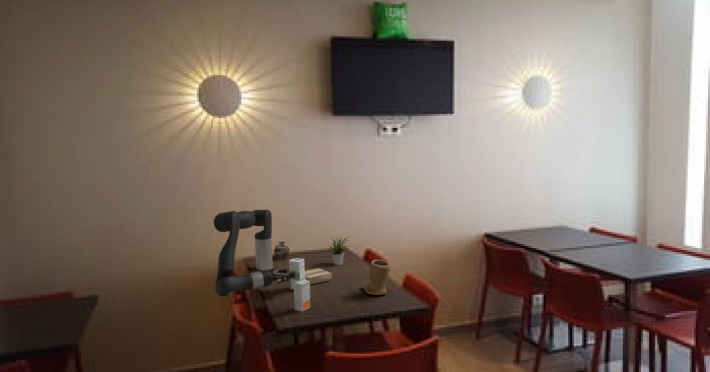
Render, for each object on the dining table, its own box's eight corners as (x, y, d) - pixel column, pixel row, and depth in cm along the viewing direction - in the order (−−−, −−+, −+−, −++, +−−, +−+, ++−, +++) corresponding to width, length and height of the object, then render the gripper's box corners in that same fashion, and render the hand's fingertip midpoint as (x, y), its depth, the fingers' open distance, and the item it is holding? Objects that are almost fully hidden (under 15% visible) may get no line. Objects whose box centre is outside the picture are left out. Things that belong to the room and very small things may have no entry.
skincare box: (302, 312, 206) (301, 284, 205) (294, 310, 209) (293, 283, 207) (310, 307, 211) (310, 280, 210) (303, 306, 214) (302, 279, 212)
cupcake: (274, 256, 301) (273, 240, 300) (290, 255, 302) (289, 239, 301) (273, 260, 292) (272, 244, 291) (289, 259, 293) (289, 243, 292)
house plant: (357, 262, 283) (356, 234, 281) (344, 268, 271) (343, 239, 270) (336, 259, 291) (336, 232, 289) (323, 265, 279) (322, 237, 277)
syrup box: (305, 287, 240) (304, 258, 238) (300, 290, 234) (299, 261, 233) (295, 286, 242) (294, 257, 240) (289, 289, 236) (288, 260, 235)
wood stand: (297, 280, 252) (296, 272, 251) (318, 275, 259) (318, 267, 259) (309, 286, 241) (309, 278, 241) (332, 281, 249) (331, 273, 248)
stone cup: (392, 295, 224) (392, 264, 223) (367, 297, 223) (366, 265, 221) (386, 285, 239) (385, 255, 238) (362, 287, 237) (361, 257, 236)
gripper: (265, 275, 220) (297, 268, 229) (252, 268, 231) (283, 262, 241) (266, 291, 221) (298, 284, 230) (253, 283, 232) (284, 277, 241)
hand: (290, 272), depth 235 cm, fingers open, 8 cm apart
